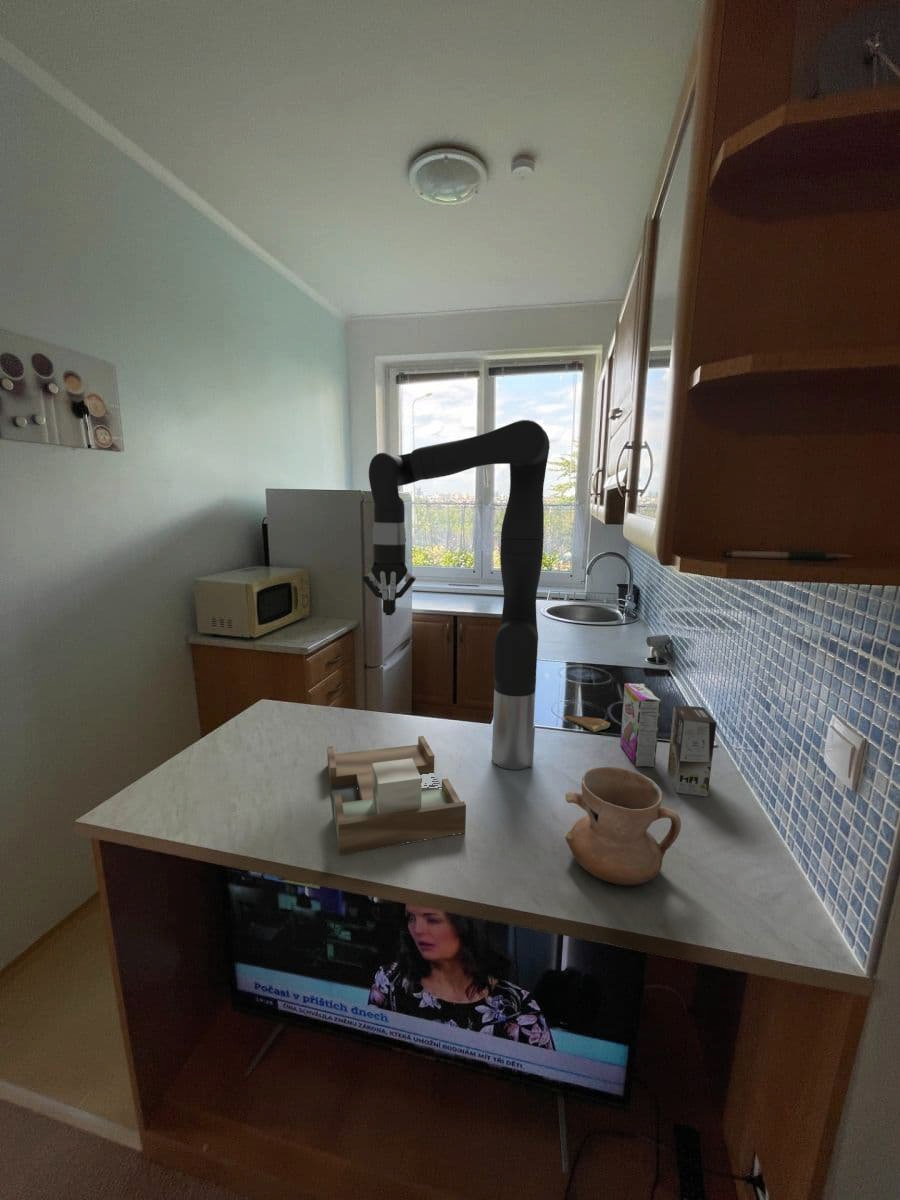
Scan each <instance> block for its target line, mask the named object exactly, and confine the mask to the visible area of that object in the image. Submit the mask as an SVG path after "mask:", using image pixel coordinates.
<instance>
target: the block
mask: <svg viewBox="0 0 900 1200" xmlns="http://www.w3.org/2000/svg"><path fill="white" fill-rule="evenodd" d="M421 783H422V778H421V776H420V774H419V772H418V770H417V768H416V765H415V763H414V761H413V759H412V758H411V759H402V760H394V761H386V762H378V763H372V791H373V807H374V810H375V814H376V815H379V814H385V813H392V812H398V811H405V810H411V809H418V808H421Z"/></svg>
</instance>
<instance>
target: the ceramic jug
mask: <svg viewBox="0 0 900 1200" xmlns="http://www.w3.org/2000/svg"><path fill="white" fill-rule="evenodd" d="M581 791H582V792H581V793H578V792H574V791H571V792H567V793H565V794H564V795H565V801H566V803H567V804H571V803H572V804H576V805H577V806H578V807H580V808H581V809H583V810H584V811H585V812H587V815H586V816H584V817H582V818H580V819H579V820H576V822H575V823H574V825H573V826H572V828H571V830H570V831H568V832H567V834H566V835H565V840H566V843H567V846H568V847H569V849H570V851H571V853H572V856H573V858H574V859H575V861H576V862H577V863H578V864H579V865H580V866H581V867H582V868H583V869H584V870H585V871H586V872H588V873H589V874H591V875H592V876H594V877H595V878H598V879H599V880H602V881H604V882H607V883H611V884H615V885H620V886H636V885H637V886H638V885H642V884H645V883H648V882H650V881H651V880H653V879H654V878H655V877H656V876H657V875H658V874H659V873H660V871H661V869H662V866H663V859H664V856H665V854H666V852H667V850H669V848H671V847H672V845H673V844H674V842H675V841H676V840H677V838H678V837H679V835H680V832H681V827H682V821H681V817H680V816H679V814H678V813H677V812H676V811H675V810H674V809H671V808H670V807H669V808H668V807H665V806H663V807H661V805H662V802H663V792H662V789H661V788H660V786H659V785H658V784H657V783H656V782H655V781H654V780H653V779H651V778H649V777H647V776H646V775H644V774H642V773H639V772H637V771H633V770H632V769H628V768H623V767H620V766H610V765H609V766H598V767H594V768H590V769H588V770H587V771H585V772H584V773H583V775H582V777H581ZM665 818H666V819H669V820H670V821H671V822H670V824H671V825H670V828H669V830H668V832H667V834H666V835H665V836H664V837H663V839H662V840H661V842H659V843H658V841H657V839H656V838H655V837H654V836H653V834H651V833H650V832H649V831H648V829H649V828H650V826H651V825H652V823H654V822H655V821H657V820H660V819H665Z"/></svg>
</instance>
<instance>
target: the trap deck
mask: <svg viewBox="0 0 900 1200" xmlns="http://www.w3.org/2000/svg"><path fill="white" fill-rule="evenodd" d="M417 739H418V740H417V741H418V742H417V744H411V745H410V744H409V745H403V746H394V747H384V748H377V749H376V748H375V749H369V750H360V751H351V752H342V753H341V752H340V753H335V752H334V750H335V749H334V746H333V745H331V746H327V748H326V749H327V750H326V753H327V769H328V770H327V772H328V771H329V772H328V779H329V778H330V779H329V784H330V786H331V787H330V786H329V787H330V792H331V793H330V794H331V801H332V808H333V809H334V810H333V815H334V816H333V817H334V822H335V823H334V824H335V831H336V837H337V838H336V839H337V846H338V847H337V848H338V854H339V856H343V855H348V853H349V854H354V853H353V852H355V853H360V852H365V850H366V851H372V850H377V849H376V848H378V849H382V848H381V847H384V848H387V846H389V847H394V846H393V845H395V846H398V845H397V844H401V845H403V844H402V843H407V842H412V843H414V842H413V841H418V842H420V841H419V840H424V839H430V838H436V839H438V838H437V837H441V838H443V837H442V836H447V837H449V836H448V835H453V834H459V833H464V834H466V821H467V820H466V819H467V818H466V817H467V804H466V803H465V801H461V799H460V798H459V796H458V794H457V792H456V791H455V788H454V787H453V785H452V784H451V782H450V780H449V779H448V778H442V779H441V782H440V781H439V780H438V781H432V782H439V783H433V784H440V785H441V787H438V788H429V787H435V786H438V785H433V784H432V785H429V787H427V788H421V808H418V809H411V810H405V811H398V812H392V813H385V814H379V815H376V814H375V810H374V807H373V791H372V763H378V762H386V761H394V760H402V759H411V758H412V759H413V761H414V763H415V765H416V768H417V770H418V772H419V774H420V775H422V774H429V773H434V774H435V754H434V752H433V750H432V748H431V747H430V745H429V743H428V742H427V740H426V738H425V737H424V735H421V736H418V738H417ZM431 778H435V777H431ZM437 779H438V778H437ZM437 779H433V780H437ZM425 784H426V783H425ZM424 786H427V785H424ZM421 787H422V786H421ZM357 788H358V789H357ZM439 788H442V789H439ZM459 835H460V834H459ZM453 836H454V835H453ZM430 840H431V839H430ZM424 841H425V840H424ZM407 844H408V843H407ZM371 849H372V850H371ZM359 851H360V852H359ZM342 854H343V855H342Z"/></svg>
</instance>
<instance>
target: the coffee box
mask: <svg viewBox="0 0 900 1200" xmlns="http://www.w3.org/2000/svg"><path fill="white" fill-rule="evenodd" d="M672 707H673V710H672V720H671V721H672V722H671V729H670V730H671V731H670V741H669V751H668V752H669V753H668V762H667V764H668V765H667V771H666V772H667V773H666V774H667V775H668V778H669V779H670V781H671V784H672V786H673V788H674V790H675V791H676V793H677V794H683V795H691V796H698V797H708V794H709V787H710V778H711V773H712V762H713V757H714V756H713V755H714V754H713V753H714V746H715V738H716V729H717V724H718V723H717V721H716V720H715V719H714V718H713V716H712V715H711V714H709V712H708V711H707V710H706V708H705V707H703V706H694V705H693V706H692V705H689V706H688V705H676V704H674V705H673V706H672Z"/></svg>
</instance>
